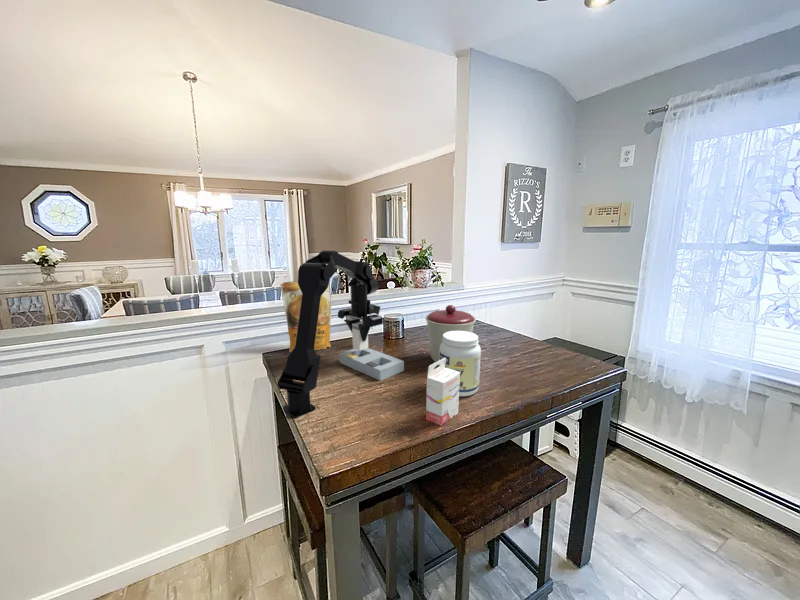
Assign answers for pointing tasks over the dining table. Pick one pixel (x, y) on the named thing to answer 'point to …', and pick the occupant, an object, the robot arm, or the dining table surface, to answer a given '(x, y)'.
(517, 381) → the dining table surface
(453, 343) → the supplement tub
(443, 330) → the canister
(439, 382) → the ink cartridge box
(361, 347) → the plug
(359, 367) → the socket block
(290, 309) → the pancake mix bag
